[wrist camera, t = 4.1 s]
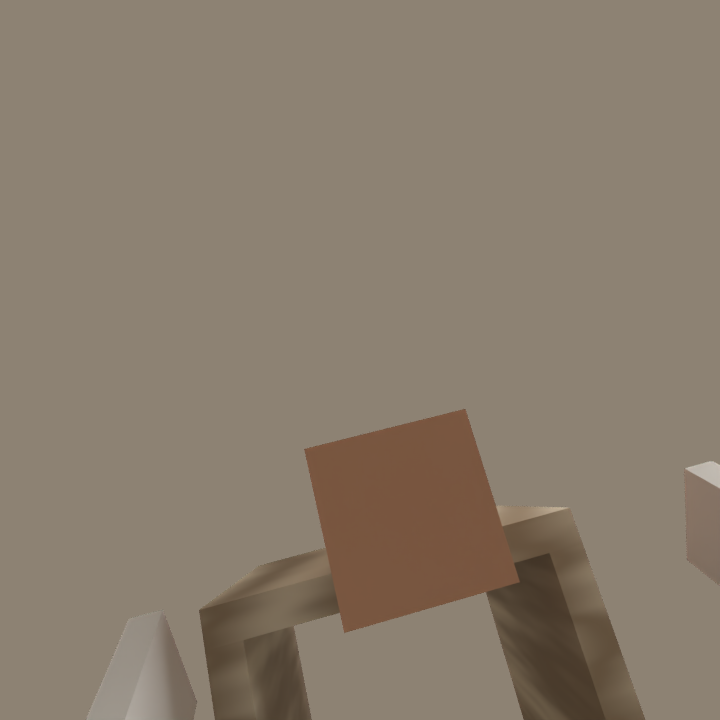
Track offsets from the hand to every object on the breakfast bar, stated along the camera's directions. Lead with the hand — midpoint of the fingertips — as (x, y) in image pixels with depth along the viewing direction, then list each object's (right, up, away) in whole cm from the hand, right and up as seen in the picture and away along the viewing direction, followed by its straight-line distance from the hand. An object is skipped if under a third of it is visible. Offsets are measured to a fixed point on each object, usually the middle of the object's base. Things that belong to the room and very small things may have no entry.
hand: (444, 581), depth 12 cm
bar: (-1, -3, +10) cm, 11 cm away
